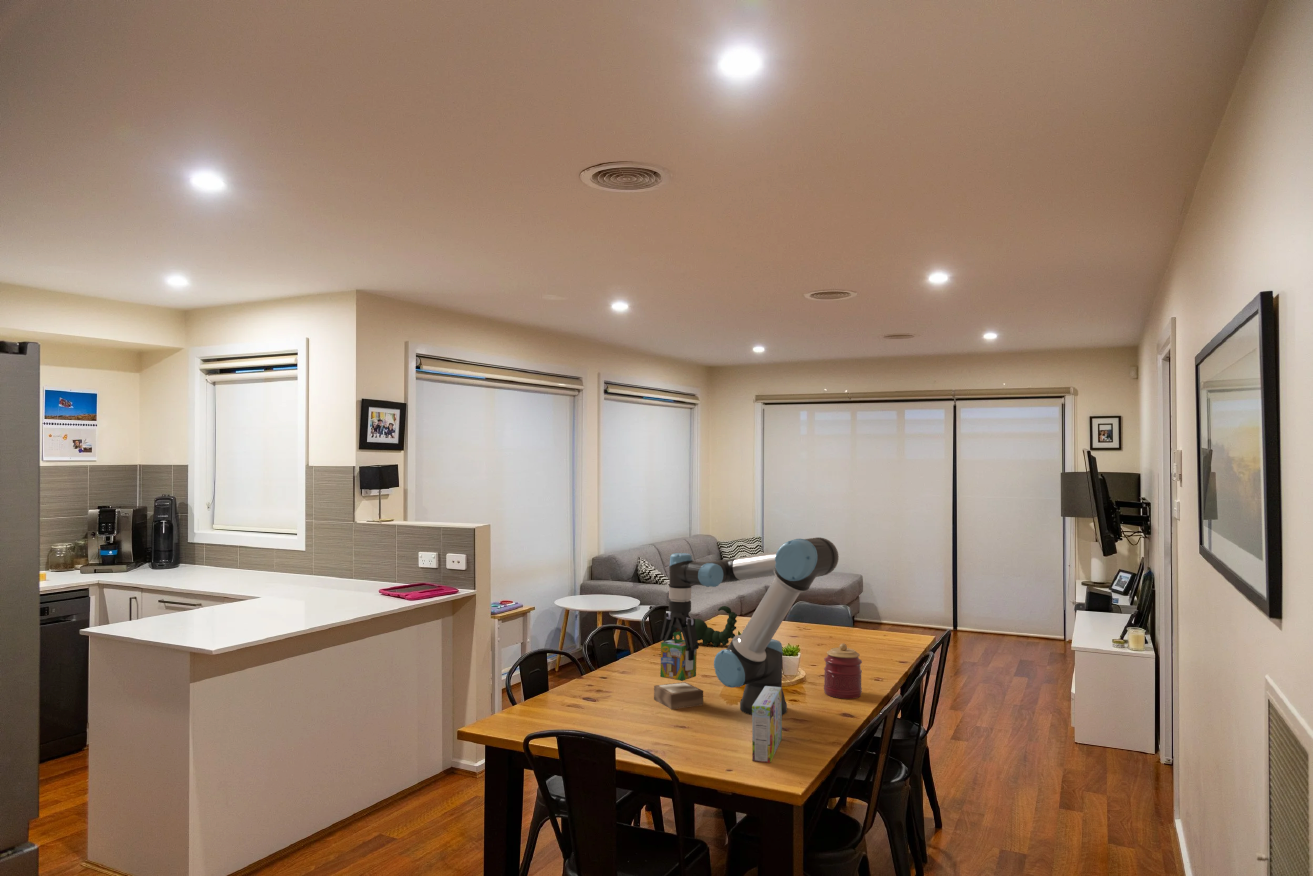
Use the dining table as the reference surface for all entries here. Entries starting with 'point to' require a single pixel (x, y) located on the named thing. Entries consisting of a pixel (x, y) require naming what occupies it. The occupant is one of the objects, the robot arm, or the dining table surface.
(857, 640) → the dining table surface
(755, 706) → the snack box
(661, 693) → the riser
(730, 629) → the toy figurine
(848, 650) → the canister
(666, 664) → the chalk box
